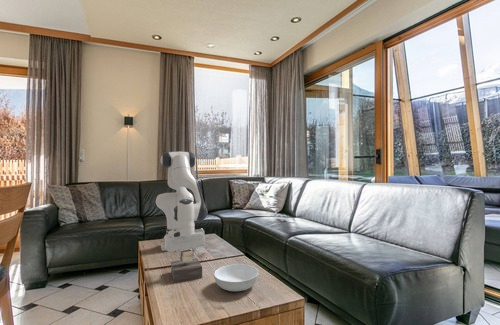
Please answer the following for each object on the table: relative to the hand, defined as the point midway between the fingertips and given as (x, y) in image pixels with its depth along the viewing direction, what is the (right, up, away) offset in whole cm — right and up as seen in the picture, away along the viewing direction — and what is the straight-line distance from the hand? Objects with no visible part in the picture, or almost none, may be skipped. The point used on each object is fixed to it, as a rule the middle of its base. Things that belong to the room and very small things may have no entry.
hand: (186, 257), depth 140 cm
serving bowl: (+27, -9, -14) cm, 32 cm away
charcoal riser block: (0, -10, 0) cm, 10 cm away
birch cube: (0, -2, 0) cm, 2 cm away
